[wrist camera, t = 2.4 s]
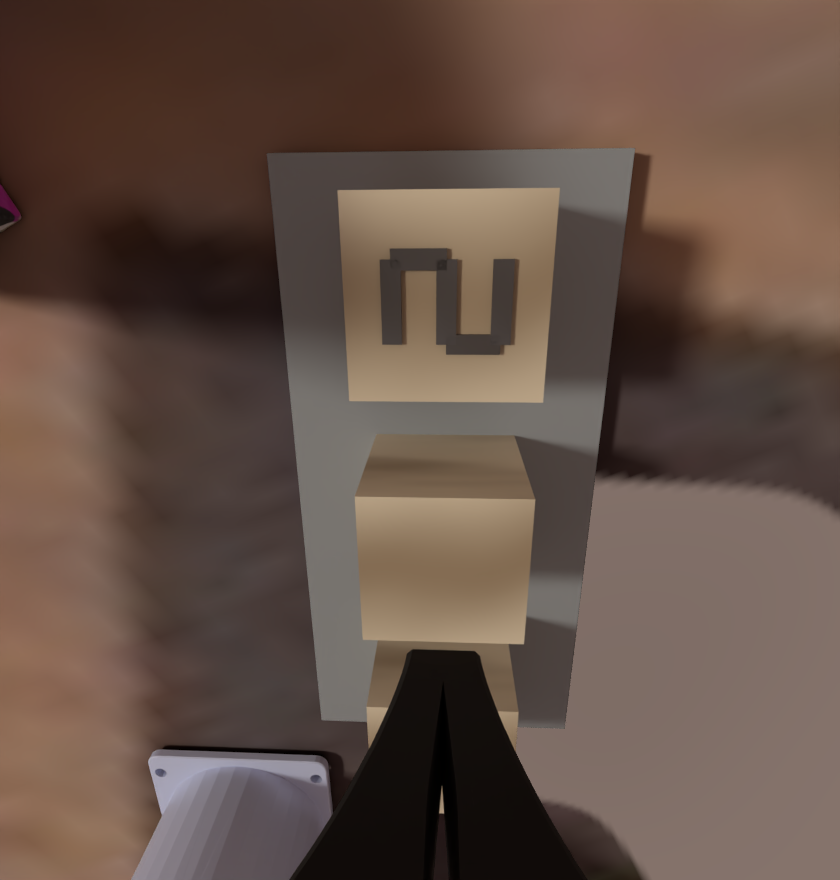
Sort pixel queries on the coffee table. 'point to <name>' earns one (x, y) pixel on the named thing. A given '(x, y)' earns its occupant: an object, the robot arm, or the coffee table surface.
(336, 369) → the mat
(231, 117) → the coffee table surface
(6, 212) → the candy bar box
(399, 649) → the block one
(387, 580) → the plain block
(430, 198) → the block two
